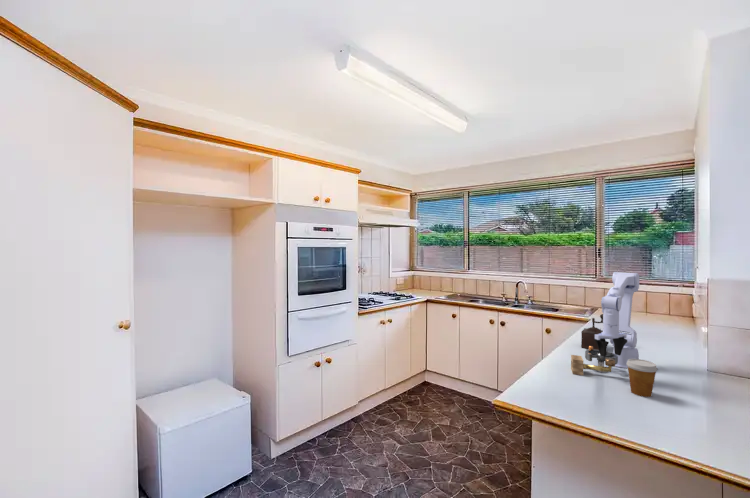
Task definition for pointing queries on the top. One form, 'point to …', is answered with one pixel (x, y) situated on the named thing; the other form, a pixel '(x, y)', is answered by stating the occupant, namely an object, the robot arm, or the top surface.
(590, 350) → the locking wheel
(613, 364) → the brass bar with knob
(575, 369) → the block
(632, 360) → the disposable coffee cup
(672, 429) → the top surface
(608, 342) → the robot arm
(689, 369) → the top surface
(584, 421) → the top surface
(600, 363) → the axle post
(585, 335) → the coffee grinder
